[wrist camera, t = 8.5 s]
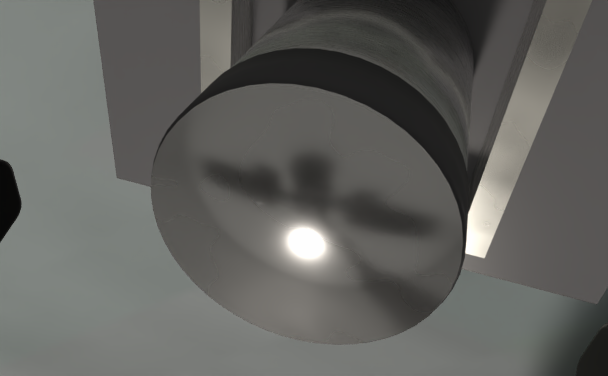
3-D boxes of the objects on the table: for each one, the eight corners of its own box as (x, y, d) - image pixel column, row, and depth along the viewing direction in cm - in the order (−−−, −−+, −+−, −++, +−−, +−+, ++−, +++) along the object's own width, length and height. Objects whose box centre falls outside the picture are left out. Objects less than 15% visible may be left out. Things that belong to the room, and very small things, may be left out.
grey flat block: (795, -177, 12) (958, -164, 8) (580, 223, 20) (604, 343, 15) (149, -256, 15) (9, -279, 11) (170, 124, 22) (92, 203, 18)
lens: (504, -16, 12) (518, 132, 7) (444, 170, 15) (419, 378, 10) (287, -56, 13) (136, 47, 7) (271, 129, 16) (156, 300, 10)
